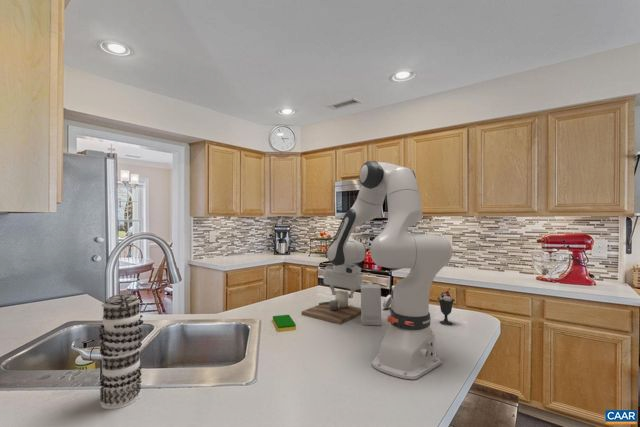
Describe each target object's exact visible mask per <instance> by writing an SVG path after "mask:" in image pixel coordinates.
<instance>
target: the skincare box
mask: <svg viewBox="0 0 640 427" xmlns="http://www.w3.org/2000/svg"><path fill="white" fill-rule="evenodd" d="M381 289H382V288H381V285H380V284H374V283H373V284H364V283H362V284H361V289H360V308H361V315H360V316H361V317H360V318H361V319H360V320H361V325H362V326H382V290H381Z"/></svg>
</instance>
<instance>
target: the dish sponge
mask: <svg viewBox="0 0 640 427" xmlns="http://www.w3.org/2000/svg"><path fill="white" fill-rule="evenodd" d="M272 322H273V324H274V327H275V328H276V331H277V332H278V333H280V332H289V331H297V324H296V323H295V321H294V320H293V318H292V316H290V314H281V315H280V314H279V315H273V316H272Z"/></svg>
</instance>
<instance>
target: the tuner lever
mask: <svg viewBox="0 0 640 427" xmlns="http://www.w3.org/2000/svg"><path fill="white" fill-rule="evenodd" d="M335 291H336V292H335V295H334V296H335V300H329V302H330V310H338V308H345V307H348V305H349V298H348V294H349V292H348V291H347V290H335Z"/></svg>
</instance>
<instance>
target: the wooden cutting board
mask: <svg viewBox="0 0 640 427" xmlns="http://www.w3.org/2000/svg"><path fill="white" fill-rule="evenodd" d="M301 316H305V317H310V318H313V319H317V320H321V321H324V322H328V323H332V324H337V325H342V324H344V323H347V322H348V321H351V320H352V319H354V318H357V317H359V316H361V307H357V306H353V305H349V304H348V307H345V308H338V310H330V301H325V302H323V301H322V302H319V303H318V304H317V305H315V306H312V307H310V308H307V309H304V310H301Z"/></svg>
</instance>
